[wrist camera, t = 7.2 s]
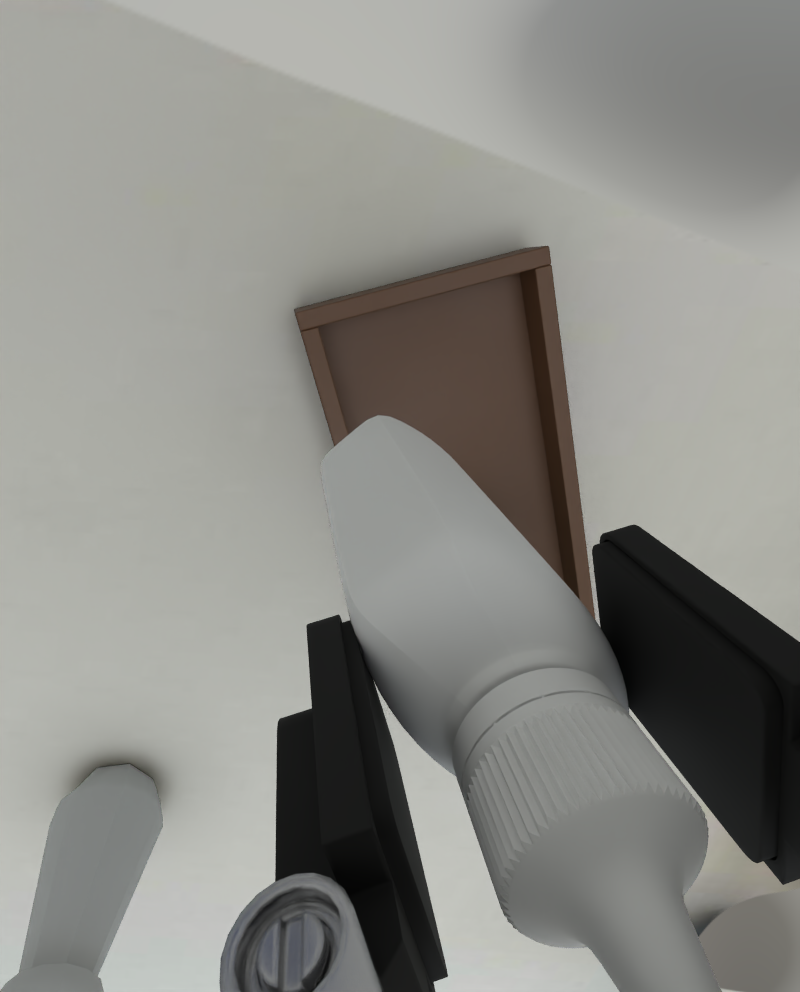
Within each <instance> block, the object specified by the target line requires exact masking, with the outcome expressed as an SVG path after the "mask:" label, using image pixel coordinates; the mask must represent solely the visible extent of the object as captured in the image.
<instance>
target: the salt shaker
mask: <svg viewBox="0 0 800 992" xmlns="http://www.w3.org/2000/svg"><path fill="white" fill-rule="evenodd" d="M162 827H163V817H162V811H161V804H160V800H159V797H158V793H157V790H156V787H155V783H154V780H153V779H152V778H151V777H149V776H148V775H146V774H145V773H143V772H142V771H140V770H138V769H137V768H135V767H134V766H132V765H131V764H124V765H116V766H108V767H100V768H96V769H95V770H94V771H93V772H92V773H91V774H90V775H89V776H88V777H87V778H86V779H85V780H84V781H83V782H82V783H81V784H80V785H79V786H78V787H77V788H76V789H75V790H73V791H72V792H71V793H70V794H68V795H67V796H66V797H65V798H63V799H62V800H61V802H60V803H59V805H58V807H57V809H56V811H55V814H54V816H53V818H52V821H51V823H50V826H49V831H48V836H47V840H46V845H45V850H44V855H43V860H42V864H41V869H40V874H39V879H38V883H37V888H36V893H35V898H34V903H33V907H32V912H31V917H30V922H29V926H28V931H27V936H26V941H25V946H24V950H23V955H22V960H21V965H20V969H19V973H18V974H17V975H16V976H15V977H13V978H12V979H11V980H10V981H8V982H7V983H6V984H5V985H4V987H3V988H2V989H1V991H0V992H104V991H103V987H102V983H101V979H100V978H99V977H97V976H98V974H99V972H100V969H101V967H102V965H103V963H104V960H105V958H106V956H107V953H108V951H109V949H110V946H111V944H112V942H113V940H114V937H115V935H116V933H117V930H118V928H119V926H120V923H121V921H122V919H123V917H124V914H125V912H126V910H127V907H128V905H129V903H130V900H131V898H132V896H133V894H134V891H135V889H136V887H137V884H138V882H139V880H140V877H141V875H142V873H143V870H144V868H145V866H146V864H147V861H148V859H149V857H150V854H151V852H152V850H153V847H154V845H155V843H156V841H157V838H158V836H159V834H160V831H161V829H162Z"/></svg>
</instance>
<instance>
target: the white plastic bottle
mask: <svg viewBox="0 0 800 992" xmlns="http://www.w3.org/2000/svg"><path fill="white" fill-rule="evenodd" d="M321 479H322V485H323V490H324V496H325V501H326V506H327V512H328V517H329V523H330V528H331V533H332V538H333V543H334V548H335V553H336V558H337V564H338V569H339V574H340V578H341V583H342V587H343V591H344V595H345V600H346V604H347V608H348V612H349V616H350V620H351V624H352V627H353V629H354V632H355V634H356V636H357V639H358V642H359V646H360V649H361V652H362V655H363V658H364V661H365V663H366V665H367V667H368V670H369V672H370V674H371V676H372V678H373V680H374V682H375V684H376V686H377V688H378V690H379V691H380V693H381V695H382V697H383V698H384V700H385V702H386V703H387V705H388V706H389V708H390V709H391V711H392V712H393V714H394V715H395V717H396V718H397V719H398V721H399V722H400V724H401V725H402V726H403V728H404V729H405V730H406V731H407V732H408V733H409V735H410V736H411V737H412V738H413V739H414V740H415V741H416V743H417V744H418V745H419V746H420V747H421V748H422V749H423V750H424V751H425V752H426V753H427V754H428V755H429V756H431V757H432V758H433V759H434V760H435V761H436V762H437V763H439V764H440V765H441V766H442V767H444V768H445V769H446V770H448V771H449V772H450V773H452V774H453V775H455V776H456V777H457V780H458V783H459V786H460V789H461V792H462V795H463V798H464V801H465V804H466V807H467V810H468V813H469V815H470V818H471V821H472V824H473V827H474V830H475V833H476V836H477V839H478V842H479V845H480V848H481V851H482V853H483V856H484V859H485V862H486V865H487V868H488V871H489V874H490V877H491V880H492V883H493V886H494V889H495V892H496V894H497V897H498V900H499V903H500V906H501V909H502V910H503V913H504V916H506V917H507V920H508V922H509V923H511V924H512V925H513V927H514V928H515V929H517V930H518V931H519V932H520V933H522V934H523V935H525V936H526V937H528V938H530V939H532V940H534V941H536V942H539V943H542V944H545V945H549V946H553V947H560V948H584V947H588V948H589V949H591V950H592V952H593V953H594V955H595V956H596V957H597V959H598V960H599V961H600V963H601V964H602V966H603V967H604V969H605V970H606V972H607V973H608V975H609V976H610V978H611V979H612V981H613V982H614V984H615V985H616V987H617V988H618V990H619V991H620V992H722V991H721V989H720V987H719V984H718V982H717V980H716V978H715V975H714V973H713V970H712V968H711V966H710V963H709V961H708V959H707V956H706V954H705V952H704V949H703V947H702V945H701V942H700V940H699V938H698V935H697V933H696V931H695V928H694V926H693V924H692V921H691V919H690V917H689V914H688V911H687V908H686V906H685V903H684V900H683V896H684V895H685V893H686V892H687V891H688V890H689V888H690V887H691V886H692V884H693V883H694V881H695V880H696V878H697V876H698V874H699V872H700V870H701V868H702V865H703V863H704V860H705V857H706V852H707V846H708V827H707V820H706V818H705V813H704V812H703V811H702V809H701V806H700V805H699V803H698V802H697V801H696V800H695V798H694V797H693V796H692V794H691V793H690V792H689V791H688V789H687V788H686V787H685V785H684V784H683V783H682V782H681V780H680V779H679V778H678V776H677V775H676V774H675V773H674V771H673V770H672V769H671V767H670V766H669V765H668V764H667V762H666V761H665V760H664V758H663V757H662V756H661V755H660V753H659V752H658V751H657V750H656V748H655V747H654V746H653V744H652V743H651V742H650V741H649V739H648V738H647V737H646V735H645V734H644V733H643V732H642V730H641V729H640V728H639V726H638V725H637V724H636V722H635V721H634V720H633V719H632V717H631V716H630V715H629V705H628V698H627V691H626V687H625V683H624V679H623V675H622V672H621V669H620V666H619V664H618V661H617V659H616V656H615V654H614V652H613V650H612V648H611V646H610V644H609V642H608V640H607V638H606V636H605V635H604V633H603V631H602V630H601V628H600V627H599V625H598V624H597V622H596V621H595V619H594V618H593V616H592V615H591V614H590V612H589V611H588V609H587V608H586V607H585V606H584V605H583V603H582V602H581V601H580V600H579V599H578V597H577V596H576V595H575V594H574V593H573V592H572V590H571V589H570V588H569V587H568V586H567V584H566V583H565V582H564V581H563V580H562V579H561V578H560V577H559V576H558V574H557V573H556V572H555V571H554V570H553V569H552V568H551V567H550V565H549V564H548V563H547V562H546V561H545V560H544V559H543V558H542V557H541V555H540V554H539V553H538V552H537V551H536V550H535V549H534V548H533V547H532V545H531V544H530V543H529V542H528V541H527V540H526V539H525V538H524V537H523V535H522V534H521V533H520V532H519V531H518V530H517V529H516V528H515V527H514V525H513V524H512V523H511V522H510V521H509V520H508V519H507V518H506V517H505V515H504V514H503V513H502V512H501V511H500V510H499V509H498V508H497V507H496V506H495V504H494V503H493V502H492V501H491V500H490V499H489V498H488V497H487V496H486V494H485V493H484V492H483V491H482V490H481V489H480V488H479V487H478V486H477V484H476V483H475V482H474V481H473V480H472V479H471V478H470V477H469V476H468V475H467V473H466V472H465V471H464V470H463V469H462V468H461V467H460V466H459V465H458V464H457V463H456V461H455V460H454V459H453V458H452V457H451V456H450V455H449V454H448V453H446V452H445V451H444V450H443V449H442V448H441V447H440V446H438V445H437V444H436V443H435V442H433V441H432V440H431V439H429V438H428V437H427V436H425V435H424V434H422V433H421V432H419V431H418V430H416V429H414V428H413V427H411V426H409V425H407V424H405V423H403V422H402V421H399V420H397V419H395V418H392V417H390V416H381V415H377V416H375V417H373V418H370V419H368V420H366V421H365V422H364V423H362V424H361V425H360V426H359V427H357V428H356V429H355V430H354V431H352V432H351V433H350V434H349V435H348V436H346V437H345V438H344V439H343V440H342V441H340V442H339V443H338V444H337V445H336V446H335V447H334V448H332V449H331V450H330V451H329V452H328V453H327V454H326V456H325V457H324V459H323V460H322V462H321Z"/></svg>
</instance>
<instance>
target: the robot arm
mask: <svg viewBox="0 0 800 992" xmlns="http://www.w3.org/2000/svg"><path fill="white" fill-rule="evenodd" d="M592 555H593V564H594V573H595V582H596V591H597V600H598V608H599V617H600V626H601V630H602V631H603V633H604V635H605V636H606V638H607V640H608V642H609V644H610V646H611V648H612V650H613V652H614V654H615V656H616V659H617V661H618V664H619V666H620V669H621V672H622V675H623V679H624V683H625V687H626V691H627V698H628V705H629V708H630V709H631V710H632V712H633V713H634V714H635V715H636V717H637V718H638V719H639V721H640V722H641V723H642V724H643V726H644V727H645V728H646V729H647V731H648V732H649V733H650V734H651V736H652V737H653V738H654V740H655V741H656V742H657V743H658V745H659V746H660V747H661V748H662V750H663V751H664V752H665V753H666V755H667V756H668V757H669V759H670V760H671V761H672V762H673V764H674V765H675V766H676V767H677V769H678V770H679V771H680V772H681V774H682V775H683V776H684V778H685V779H686V780H687V781H688V783H689V784H690V785H691V786H692V788H693V789H694V790H695V791H696V793H697V794H698V795H699V797H700V798H701V799H702V800H703V802H704V803H705V804H706V805H707V807H708V808H709V809H710V810H711V812H712V813H713V814H714V816H715V817H716V818H717V819H718V821H719V822H720V823H721V824H722V826H723V827H724V828H725V829H726V831H727V832H728V833H729V835H730V836H731V837H732V838H733V840H734V841H735V842H736V843H737V845H738V846H739V847H740V848H741V850H742V851H743V852H744V853H745V854H746V856H747V857H748V858H749V859H751V860H752V861H753V862H755V863H759V862H762V861H764V862H765V863H766V865H767V866H768V867H769V868H770V870H771V871H772V872H773V873H774V874H775V876H776V877H777V878H778V879H779V881H780V882H781V883H782V884H783V885H784V884H786V883H789V882H792V881H795V880H797V879H800V642H799V641H797V640H796V639H795V638H793V637H792V636H790V635H789V634H788V633H786V632H785V631H783V630H782V629H781V628H779V627H778V626H777V625H775V624H774V623H772V622H771V621H770V620H768V619H767V618H765V617H764V616H763V615H761V614H760V613H758V612H757V611H756V610H754V609H753V608H752V607H750V606H749V605H747V604H746V603H745V602H743V601H742V600H740V599H739V598H738V597H736V596H735V595H734V594H732V593H731V592H729V591H728V590H727V589H725V588H724V587H722V586H721V585H719V584H718V583H717V582H715V581H714V580H712V579H711V578H710V577H708V576H707V575H705V574H704V573H703V572H701V571H700V570H699V569H697V568H696V567H694V566H693V565H692V564H690V563H689V562H687V561H686V560H685V559H683V558H682V557H681V556H679V555H678V554H676V553H675V552H674V551H672V550H671V549H669V548H668V547H667V546H665V545H664V544H663V543H661V542H660V541H658V540H657V539H656V538H654V537H653V536H651V535H650V534H649V533H647V532H646V531H645V530H643V529H642V528H640V527H639V526H637V525H630V526H627V527H623V528H620V529H617V530H614V531H610V532H607V533H604V534H602V535H601V537H600V544H597V545H594V546H593V549H592ZM307 640H308V655H309V670H310V684H311V699H312V709H309V710H306V711H303V712H300V713H296V714H293V715H290V716H287V717H284V718H281V719H279V721H278V727H277V791H276V878H275V882H274V883H273V884H271V885H270V886H269V887H267V888H266V889H264V890H263V891H262V892H260V893H259V894H257V895H256V896H255V898H254V899H253V900H252V901H251V902H250V903H249V904H248V905H247V906H246V908H245V909H244V910H243V911H242V912H241V913H240V915H239V917H238V919H237V920H236V922H235V924H234V925H233V927H232V929H231V931H230V932H229V934H228V937H227V940H226V943H225V947H224V950H223V953H222V956H221V965H220V991H221V992H435V988H434V983H433V982H434V981H437V980H440V979H443V978H445V977H448V974H447V969H446V964H445V960H444V956H443V951H442V947H441V943H440V938H439V934H438V930H437V926H436V921H435V917H434V913H433V909H432V904H431V900H430V896H429V892H428V887H427V883H426V879H425V875H424V870H423V866H422V862H421V858H420V853H419V849H418V845H417V841H416V836H415V832H414V828H413V824H412V819H411V815H410V811H409V806H408V802H407V798H406V794H405V789H404V785H403V781H402V777H401V772H400V768H399V764H398V760H397V756H396V752H395V748H394V745H393V741H392V738H391V735H390V731H389V728H388V725H387V722H386V719H385V716H384V712H383V709H382V706H381V703H380V700H379V697H378V693H377V690H376V687H375V684H374V681H373V678H372V676H371V674H370V672H369V670H368V667H367V665H366V663H365V661H364V658H363V655H362V652H361V649H360V646H359V642H358V639H357V636H356V634H355V632H354V629H353V627H352V624H351V620H350V621H346V622H343V623H342V620H341V618H340V616H339V615H336V616H333V617H329V618H326V619H323V620H320V621H316V622H313V623H310V624H307Z"/></svg>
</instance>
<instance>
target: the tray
mask: <svg viewBox="0 0 800 992" xmlns="http://www.w3.org/2000/svg"><path fill="white" fill-rule="evenodd" d="M550 264H551V259H550V251H549V246H541V247H531V248H524V249H520V250H516V251H512V252H509V253H505V254H501V255H497V256H493V257H490V258H486V259H482V260H478V261H475V262H471V263H467V264H463V265H459V266H456V267H452V268H448V269H444V270H440V271H437V272H433V273H429V274H425V275H421V276H418V277H414V278H410V279H406V280H403V281H399V282H395V283H391V284H387V285H384V286H380V287H376V288H372V289H368V290H365V291H361V292H357V293H353V294H349V295H346V296H342V297H338V298H334V299H331V300H327V301H323V302H319V303H315V304H312V305H308V306H304V307H300V308H296V309H294V311H295V315H296V318H297V322H298V325H299V328H300V332H301V335H302V339H303V342H304V345H305V349H306V352H307V356H308V359H309V362H310V366H311V369H312V372H313V376H314V379H315V383H316V386H317V389H318V393H319V396H320V399H321V403H322V406H323V410H324V413H325V416H326V420H327V423H328V426H329V430H330V433H331V437H332V440H333V443H334V447H335V446H336V445H337V444H338V443H339V442H340V441H342V440H343V439H344V438H345V437H346V436H348V435H349V434H350V433H351V432H352V431H354V430H355V429H356V428H357V427H359V426H360V425H361V424H362V423H364V422H365V421H366V420H368V419H370V418H373V417H375V416H377V415H381V416H390V417H392V418H395V419H397V420H399V421H402V422H403V423H405V424H407V425H409V426H411V427H413V428H414V429H416V430H418V431H419V432H421V433H422V434H424V435H425V436H427V437H428V438H429V439H431V440H432V441H433V442H435V443H436V444H437V445H438V446H440V447H441V448H442V449H443V450H444V451H445V452H446V453H448V454H449V455H450V456H451V457H452V458H453V459H454V460H455V461H456V463H457V464H458V465H459V466H460V467H461V468H462V469H463V470H464V471H465V472H466V473H467V475H468V476H469V477H470V478H471V479H472V480H473V481H474V482H475V483H476V484H477V486H478V487H479V488H480V489H481V490H482V491H483V492H484V493H485V494H486V496H487V497H488V498H489V499H490V500H491V501H492V502H493V503H494V504H495V506H496V507H497V508H498V509H499V510H500V511H501V512H502V513H503V514H504V515H505V517H506V518H507V519H508V520H509V521H510V522H511V523H512V524H513V525H514V527H515V528H516V529H517V530H518V531H519V532H520V533H521V534H522V535H523V537H524V538H525V539H526V540H527V541H528V542H529V543H530V544H531V545H532V547H533V548H534V549H535V550H536V551H537V552H538V553H539V554H540V555H541V557H542V558H543V559H544V560H545V561H546V562H547V563H548V564H549V565H550V567H551V568H552V569H553V570H554V571H555V572H556V573H557V574H558V576H559V577H560V578H561V579H562V580H563V581H564V582H565V583H566V584H567V586H568V587H569V588H570V589H571V590H572V592H573V593H574V594H575V595H576V596H577V597H578V599H579V600H580V601H581V602H582V603H583V605H584V606H585V607H586V608H587V609H588V611H589V612H590V614H591V615H592V616H593V618H594V619H595V614H594V606H593V598H592V590H591V581H590V573H589V565H588V557H587V549H586V541H585V533H584V525H583V517H582V509H581V501H580V492H579V484H578V476H577V468H576V460H575V452H574V444H573V436H572V428H571V420H570V412H569V404H568V395H567V387H566V379H565V371H564V363H563V355H562V347H561V339H560V331H559V323H558V315H557V307H556V298H555V290H554V282H553V274H552V266H551V265H550Z"/></svg>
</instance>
